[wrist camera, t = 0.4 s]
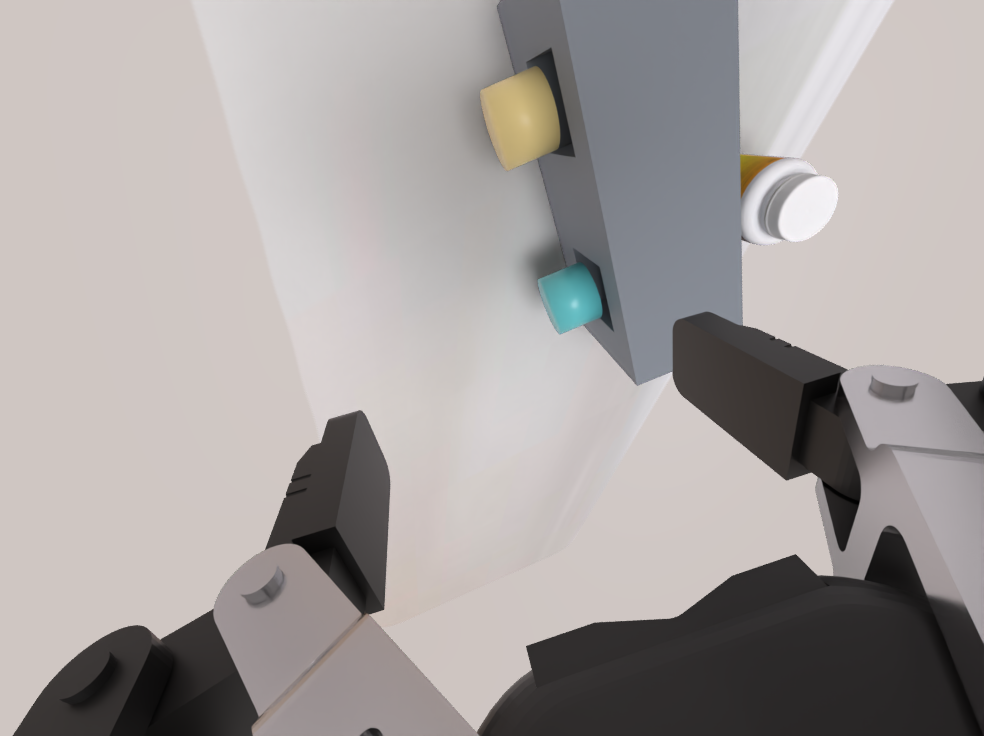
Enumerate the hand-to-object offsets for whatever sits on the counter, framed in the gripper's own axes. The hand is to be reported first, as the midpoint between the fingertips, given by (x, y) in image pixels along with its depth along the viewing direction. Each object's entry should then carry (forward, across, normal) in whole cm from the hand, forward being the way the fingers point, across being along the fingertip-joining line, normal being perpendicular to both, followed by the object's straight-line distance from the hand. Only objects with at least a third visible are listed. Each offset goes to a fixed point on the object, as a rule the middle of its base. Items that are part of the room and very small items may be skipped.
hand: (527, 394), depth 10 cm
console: (+24, -13, -2) cm, 28 cm away
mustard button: (+20, -6, -7) cm, 22 cm away
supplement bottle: (+24, -22, +1) cm, 33 cm away
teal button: (+21, -8, +5) cm, 23 cm away
